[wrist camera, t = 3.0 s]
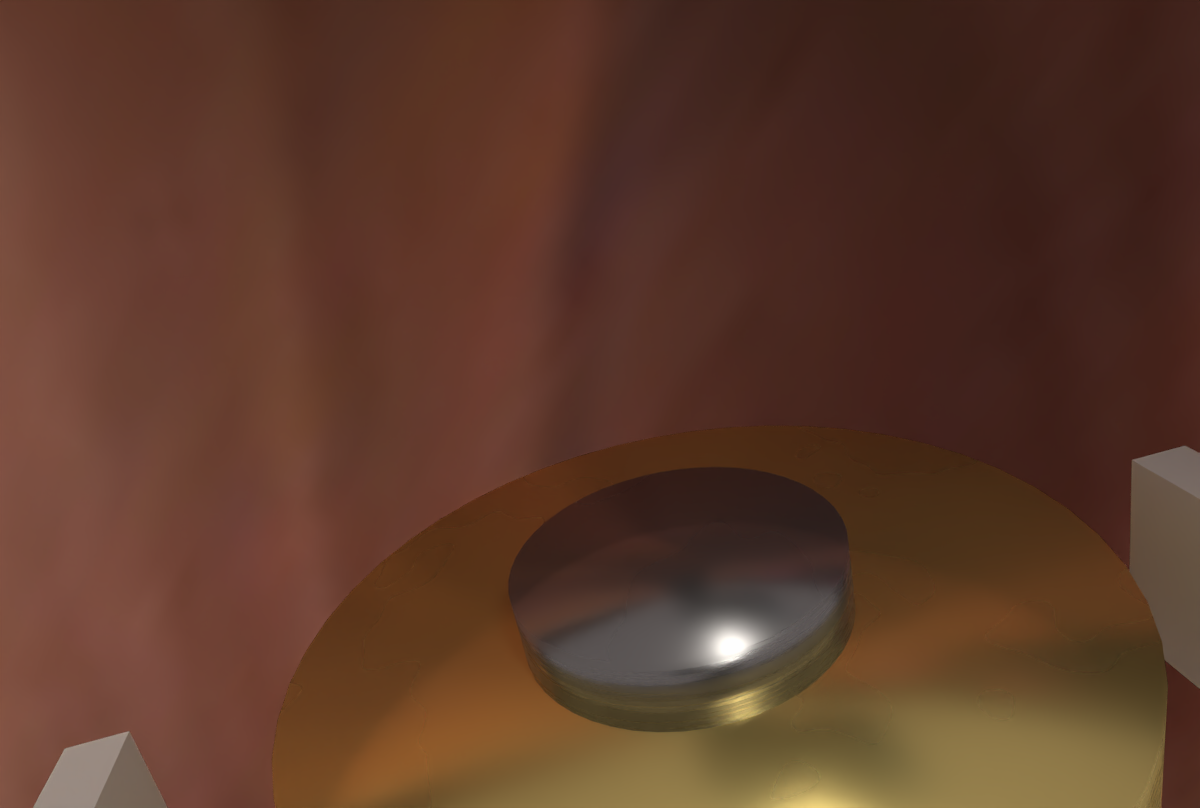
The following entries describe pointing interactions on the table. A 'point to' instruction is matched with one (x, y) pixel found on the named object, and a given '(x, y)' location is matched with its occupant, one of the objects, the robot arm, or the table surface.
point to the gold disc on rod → (738, 642)
